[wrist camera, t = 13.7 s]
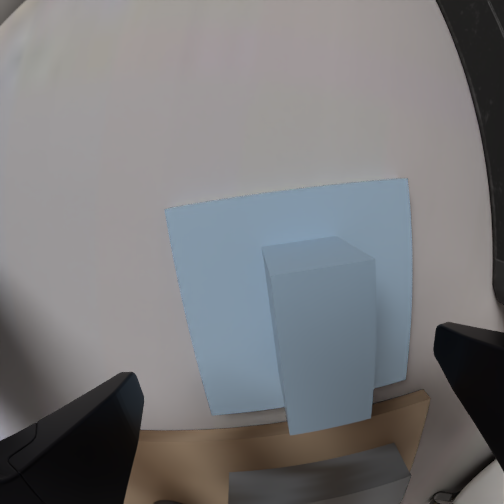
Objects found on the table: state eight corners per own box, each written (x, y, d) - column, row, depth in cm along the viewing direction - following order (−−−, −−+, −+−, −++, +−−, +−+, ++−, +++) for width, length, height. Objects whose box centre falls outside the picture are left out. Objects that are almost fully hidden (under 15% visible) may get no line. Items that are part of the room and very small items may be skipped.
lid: (214, 397, 16) (205, 475, 10) (172, 206, 13) (129, 222, 8) (394, 365, 16) (440, 426, 10) (392, 178, 13) (465, 179, 8)
